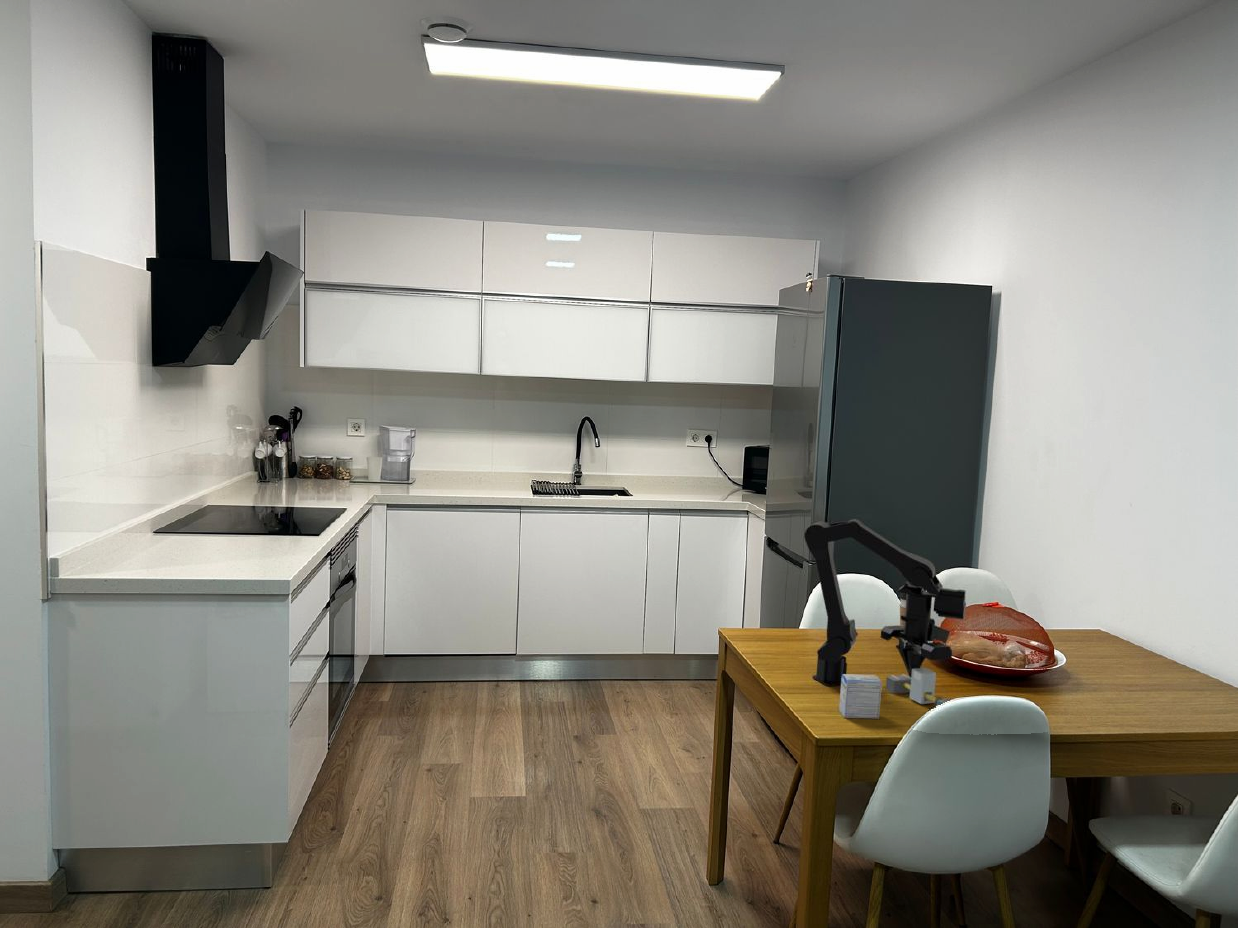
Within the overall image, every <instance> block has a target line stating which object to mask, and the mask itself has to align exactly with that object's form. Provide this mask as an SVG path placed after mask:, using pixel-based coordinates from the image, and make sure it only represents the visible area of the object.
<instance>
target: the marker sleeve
mask: <svg viewBox="0 0 1238 928" xmlns="http://www.w3.org/2000/svg"><path fill="white" fill-rule="evenodd" d="M936 679H937V673H936V672H935V671H933V670H930V669H929V668H926V667H920V668H914V669H912V676H911V687H910V692H909V699H910V700H912V701H915V703H919V704H920V705H925V704H932V703H933V702H931V701H930V700H928V699H926V698H924V693H927V694H929V695H931V696H933V697H935V690H936ZM933 704H934V703H933Z"/></svg>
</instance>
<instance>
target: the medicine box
mask: <svg viewBox="0 0 1238 928" xmlns="http://www.w3.org/2000/svg"><path fill="white" fill-rule="evenodd" d="M882 685H883V682H882V680H881V679H880V678H879V677H878V676H877V675H876V674H854V673H853V674H852V673H846V674H842V679H841V685H840V695H839V696H840V697H839V706H838V707H839V708H838V710H839V713H840V715H841V716H842V717H843V718H848V719H849V718H851V719H852V718H853V719H874V720H875V719H880V710H881V709H880V708H881V700H882V699H881V697H882Z"/></svg>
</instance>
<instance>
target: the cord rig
mask: <svg viewBox="0 0 1238 928" xmlns="http://www.w3.org/2000/svg"><path fill="white" fill-rule="evenodd" d="M885 681H886V682H885V690H886V691H887V692H889V693H891V694H893V695H896V694H905V693H910V687H911V677H909V674H904V673H901V675H893V674H891V675H890V676H886V680H885ZM924 698H926V699H928V700H930V701H931V702H933V704H934V706H936V705H941V704H943V703H945V702H947V701H951V700H950V699H948V698H944V699H943V698H940V697H936V696H934V697H933V696H931V695H929V694H927V693H924Z"/></svg>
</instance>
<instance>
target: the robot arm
mask: <svg viewBox="0 0 1238 928" xmlns="http://www.w3.org/2000/svg"><path fill="white" fill-rule="evenodd" d="M849 538H850V539H852V540H854V541H856V542H857V543H858V544H860V545H862V546H864V547H865V548H866V549H868V550H870V551H871V552H873V553H874V554H876V555H877V556H879V557H881V559H883V560H885V561H886V562H888V563H890V564H891V565H892V566H893V567H895V568H896V570H897V571H898V572H899V573H900V575H902V577H903V578H905V580H907V581H906V582H905V583H904V585H902V586H900V588H899V589H898V593H900V594H901V593H905V594H907V598H906V609H905V615H901V620H903V621H904V627H902V626H900V624H899V625H888V626H886V625H885V626H883V627H882V629H881V630H880V638H881V639H882V640H885V641H890V640H891V639H892V638H896V639H897V640H898V644H896V645H895V648H896V649H897V650H898V653H899V654H900V657H901V658H902V661H903V664H904V666H905V669H906V671H907V675H908V676H909V677H911V676H912V669H914V668H922V665H923V663H924V661H925V659H927V660H930V661H943V660H952V658H953V657H952V656H953V649H952V647H951V646H949V645H947V644H946V643H947V642H948V639H949V636H950V635H951V634H950V633H951V631H950V630H948V629H945V628H942V627H940V626H937V625H936V621H935V619H934V618H932V617H931V615H932V604H933V612H934V613H935V614H937V615H938V616H937V617H941V618H947V619H953V620H958V621H961V620H962V621H964V620H965V616H966V607H967V602H966V589H953V588H945V587H944V586H943V584H942V583H941V581H940V579H939V578H938V577H937V574H936V567H935V565H934V563H932V562H931V560H929V559H926V558H924V557H922V556H920V555H917V554H914V553H911V552H910V551H909V552H908V551H906V550H904V549H902V548H900V547H899V546H897V544H896V545H895V544H894V543H893V542H891V541H890V540H889V539H886V538H885V537H883V536H882V535H881V534H879V533H877V532H875V531H874V530H873V529H871V528H870V527H868V526H866V525H865V524H863V522H862V521H860V520H858V519H854V518H853V519H850V520H847V521H839V522H832V523H828V522H826V521H818V522H815V523H813V524H811V525H810V526H808V527H807V529H806V530H805V532H804V540H805V543H806V546H807V548H808V551H809V553H810V555H811V556H812V558H813V559H814V562H815V564H816V570H817V575H818V580H819V584H820V588H821V593H822V597H823V602H824V607H825V612H826V616H827V623H826V624H827V625H826V641H825V642H824V643H823V644H822V645H821V646H820V647H819V649H817V651H816V652H817V660H816V661H817V662H816V674H814V675H812V677H811V678H812V679H814V680H816V681H817V682H818V683H821V684H823V685H825V686H827V687H829V686H841V679H842V674H847V673H848V672H847V670H848V663H847V657H846V656H844V655H847V654H848V653H849V652H850V651H851V649H852V648H853V647H854V645H856V642H857V637H858V636H859V633H858V632H857V629H856V621H855V620H856V619H849V618H848V616H847V614H846V612H845V609H844V607H845V606H844V603H843V598H842V593H841V588H840V585H839V580H838V574H837V569H836V566H835V561H834V550H835V549H834V548H835V542H836V541H839V540H844V539H849ZM923 590H925V591H923ZM933 598H934V602H932V601H933ZM935 641H936V642H935ZM938 641H939V642H938Z"/></svg>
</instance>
